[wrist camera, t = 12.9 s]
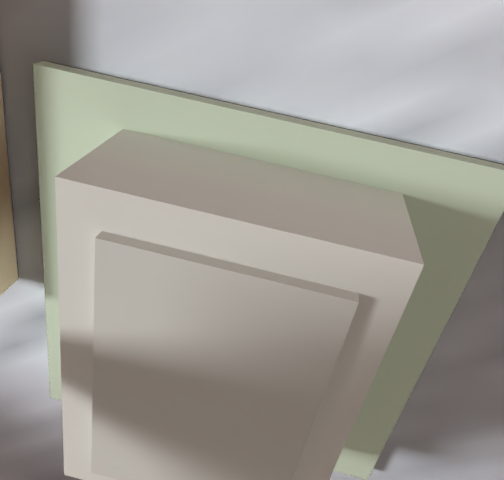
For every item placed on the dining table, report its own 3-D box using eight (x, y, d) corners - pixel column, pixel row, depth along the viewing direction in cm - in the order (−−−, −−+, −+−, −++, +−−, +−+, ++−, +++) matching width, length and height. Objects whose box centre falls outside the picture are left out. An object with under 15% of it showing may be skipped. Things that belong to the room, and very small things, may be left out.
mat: (366, 467, 15) (367, 479, 14) (56, 387, 15) (50, 397, 15) (515, 167, 10) (522, 174, 9) (43, 61, 10) (32, 63, 10)
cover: (309, 440, 14) (302, 549, 11) (111, 389, 14) (58, 484, 11) (402, 193, 10) (426, 273, 7) (123, 129, 10) (46, 182, 7)
